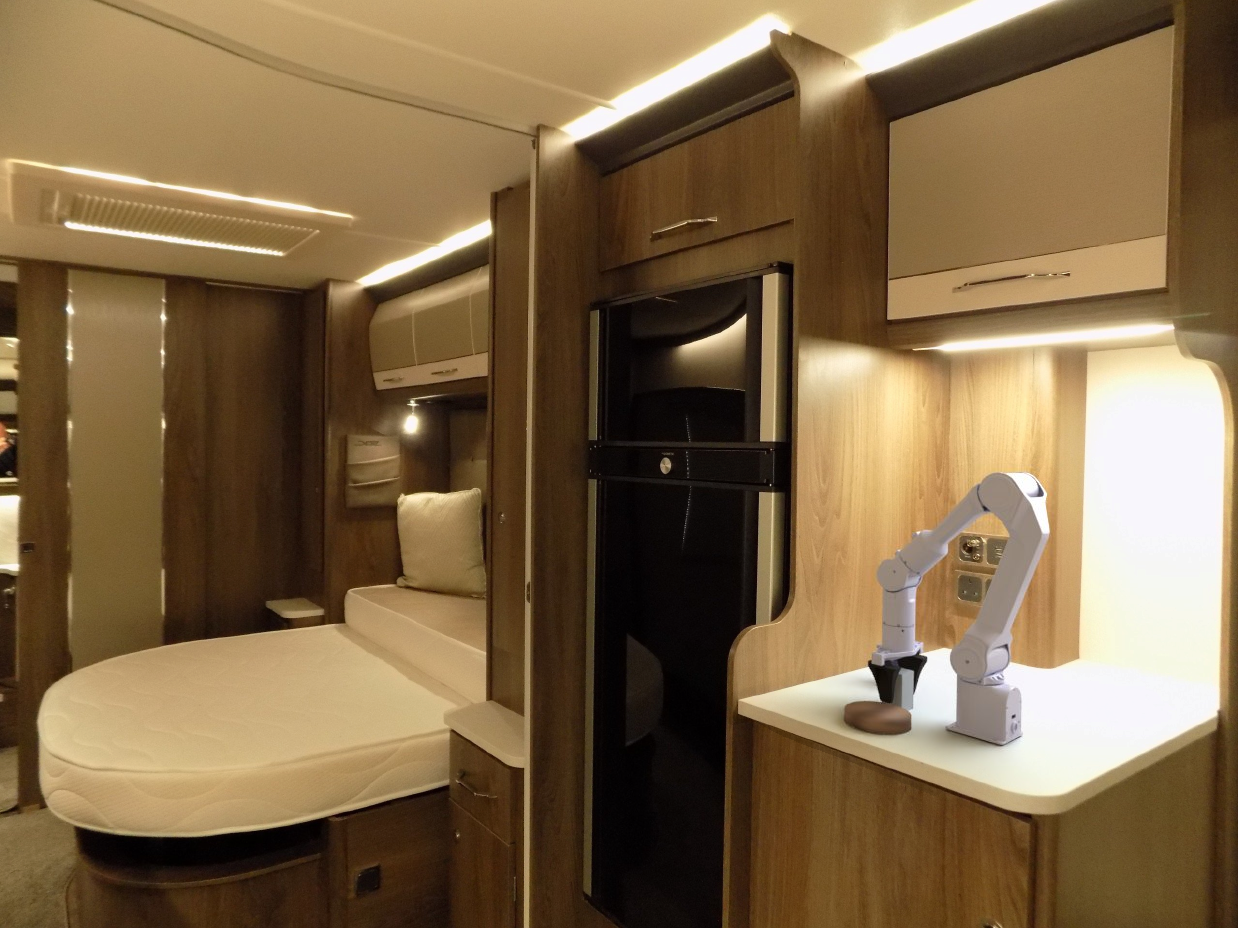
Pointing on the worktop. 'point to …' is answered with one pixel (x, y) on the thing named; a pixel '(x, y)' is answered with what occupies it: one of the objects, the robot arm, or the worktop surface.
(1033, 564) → the robot arm
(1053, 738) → the worktop surface
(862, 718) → the plinth
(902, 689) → the block
